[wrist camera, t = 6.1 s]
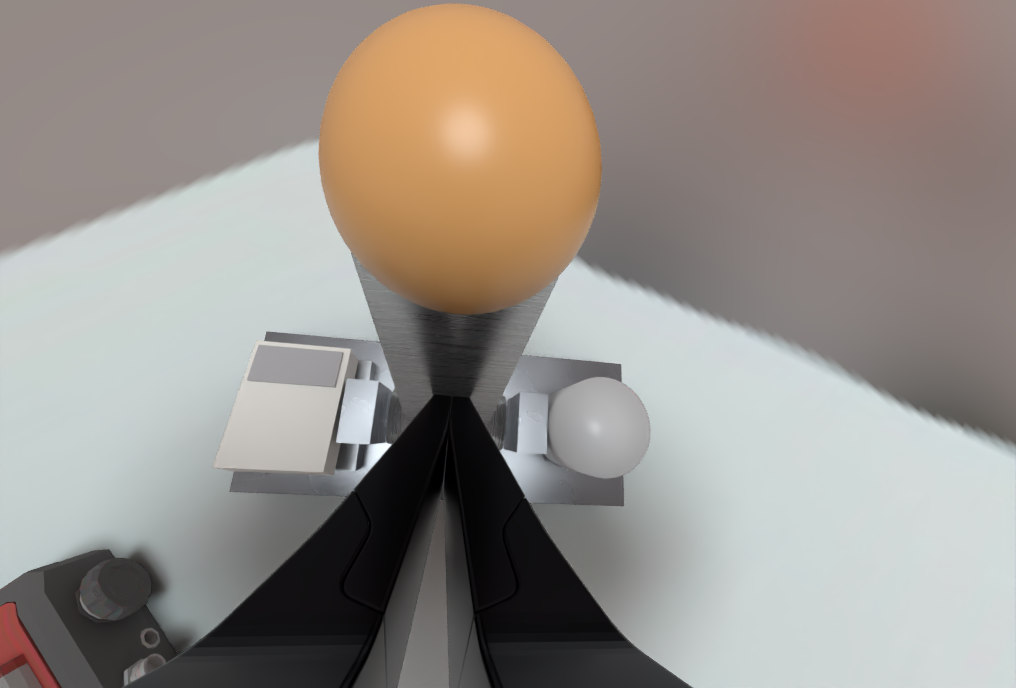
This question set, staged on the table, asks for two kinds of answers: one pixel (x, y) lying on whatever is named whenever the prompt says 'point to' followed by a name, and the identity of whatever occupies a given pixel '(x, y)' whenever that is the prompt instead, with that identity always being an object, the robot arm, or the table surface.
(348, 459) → the slide switch base
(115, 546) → the table surface
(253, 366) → the white block
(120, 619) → the walkie-talkie
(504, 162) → the ball-topped post
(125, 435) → the table surface
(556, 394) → the push button
